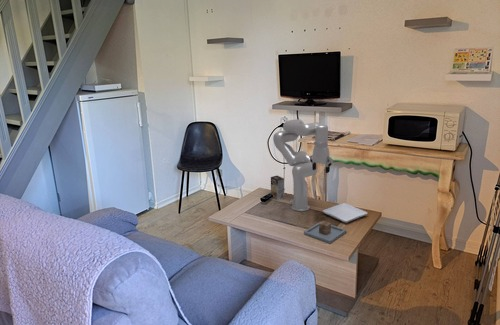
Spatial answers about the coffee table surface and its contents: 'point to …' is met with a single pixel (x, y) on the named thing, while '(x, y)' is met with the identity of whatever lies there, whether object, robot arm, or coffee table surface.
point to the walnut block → (324, 227)
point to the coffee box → (277, 187)
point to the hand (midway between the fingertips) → (320, 171)
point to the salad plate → (344, 212)
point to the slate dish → (328, 238)
